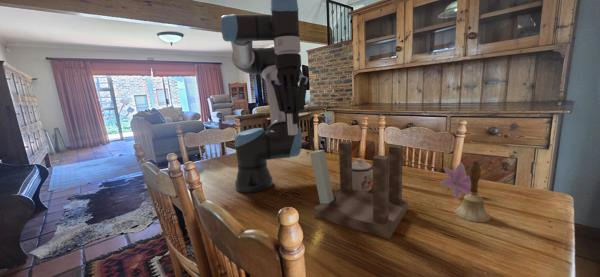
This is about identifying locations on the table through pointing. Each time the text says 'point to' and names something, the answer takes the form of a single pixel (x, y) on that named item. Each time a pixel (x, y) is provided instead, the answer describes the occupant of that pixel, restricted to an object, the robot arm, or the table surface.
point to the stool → (368, 195)
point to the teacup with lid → (361, 175)
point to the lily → (457, 180)
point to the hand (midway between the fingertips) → (293, 134)
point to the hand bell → (473, 199)
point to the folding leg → (322, 176)
